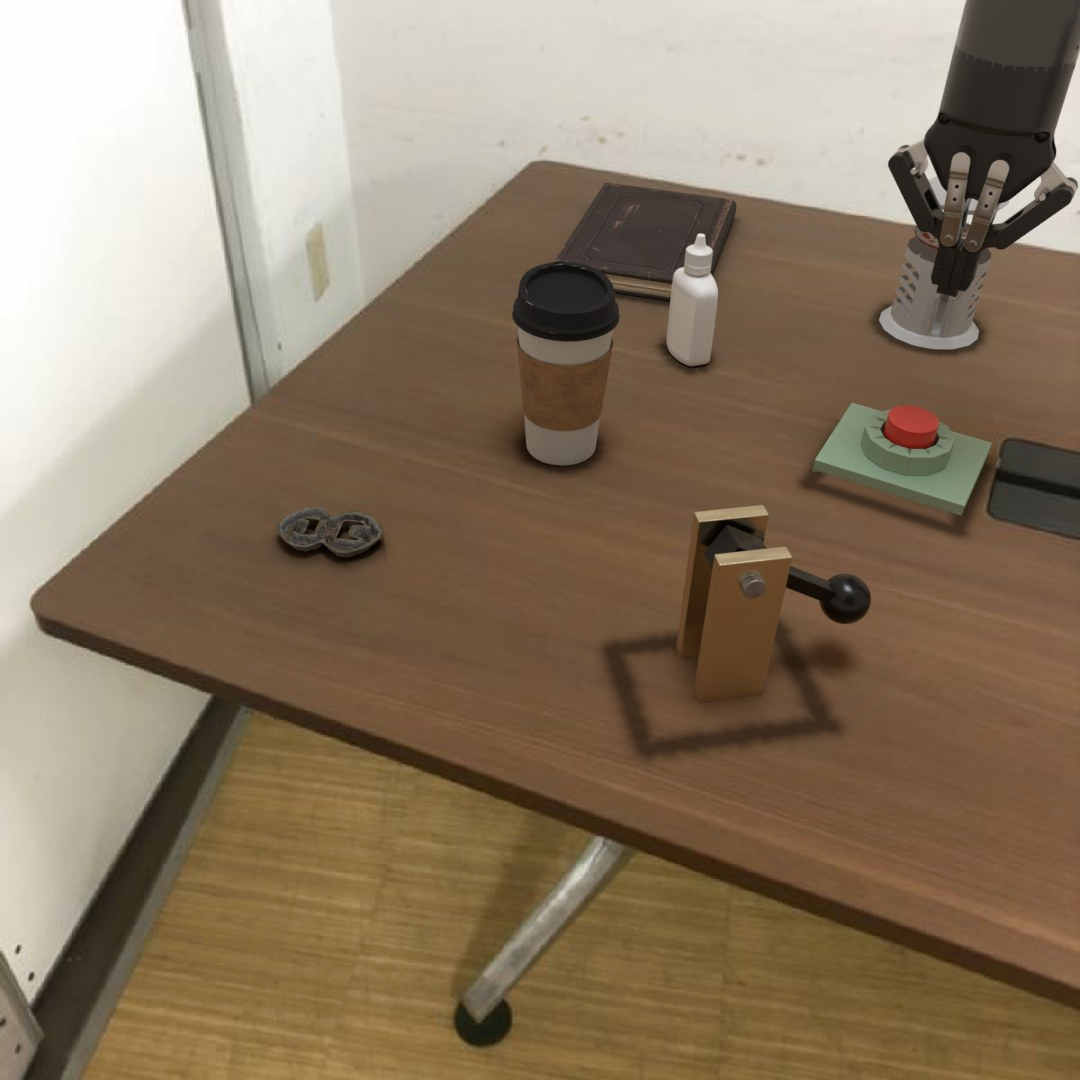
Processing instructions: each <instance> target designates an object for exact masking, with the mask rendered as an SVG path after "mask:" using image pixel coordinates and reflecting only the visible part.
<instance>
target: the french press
mask: <svg viewBox="0 0 1080 1080" xmlns="http://www.w3.org/2000/svg"><path fill="white" fill-rule="evenodd" d="M928 181H929V183H930V185H931V187H932V189H933V191H934V193H935V196H936V198H937V200H938V202H939V204H940V206H941V208H942V211H944V205H945V200H946V194H947V192H946V191H945V190H944V189H943V187H942V186H941V184H940V182H939V179H938V177H937V175H936V176H935V177H932V178H930V179H928ZM977 203H978V201H977V200H975V199H972V200H971V203H970V206H969V211H968V216H973V214H974V212H975V209H976V206H977ZM1009 204H1010V200H1009V201H1007V202H1004V203H1001V204H1000V207H999V209H998V211H1000V210H1002V209H1003V208H1005V207H1006V206H1008V205H1009ZM970 225H971V223H969V222H966V227H965V230H964V232H963V235H962V238H964V239H965V238H966V236H967V233H968V230H969V227H970ZM913 233H914V235H915V236H913V237H911V238H910V239H909V240H908V243H907V245H906V249H905V252H904V258H905V259H906V260H907V261H908V262H907V263H902V264H901V265H902V266H901V269H900V270H901V271H902V272H903V273H904V274H902V275H899V276H898V283H899V284H900V285H901V286H897V287H896V290H895V295H896V296H897V298H893V301H892V305H890V306H889V307H887V308H885V309H884V310H882V311H881V312H880V316H879V319H878V321H879V323H880V325H881V327H882V329H883V330H884V331H885V332H886V333H888V334H889V335H891V336H892V337H893V338H895V339H897V340H899V341H901V342H904V343H906V344H909V345H911V346H914V347H919V348H923V349H930V350H956V349H961V348H965V347H969V346H970V345H972V344H973V343H975V342H976V341H977V340H978V338H979V333H980V329H979V327H978V326H977V325H976V323H975V322H974V321H973V319H974V316H975V313H976V310H977V308H976V307H977V305H978V303H979V299H980V294H981V292H982V289H983V283H984V282H985V279H986V275H987V270H988V268H989V266H990V263H991V259H992V251H991V250H989V248H986V249H984V250H982V253H981V257H980V260H979V264H978V267H977V271H976V274H975V278H974V280H973V282H972V283H971V285H970V286H969V288H968V289H967V290H966V291H960V292H959V294H958V295H957V297H952V296H948V295H947V294H946V295H943V294H939V293H936V291H937V287H938V285H935V284H932V281H931V274H932V270H933V266H934V263H935V259H936V255H937V251H938V247H939V242H938V239H937V238H936V237H935V236H934V235H932V234H930V233H929V232H922V231H920V230H919V229H918V227H917V225H915V228H914V232H913ZM964 241H965V240H964ZM919 255H920V256H919ZM912 268H913V269H914V270H915V271H913V272H911V270H910V269H912ZM980 278H981V280H980V281H979V282H977V281H978V280H979V279H980ZM909 280H910V282H911V283H908V282H907V281H909ZM977 290H978V291H977ZM976 291H977V293H976V294H975V292H976ZM904 292H906V293H907V294H904ZM973 303H974V304H973ZM972 304H973V305H972Z"/></svg>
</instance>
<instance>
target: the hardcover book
mask: <svg viewBox="0 0 1080 1080" xmlns="http://www.w3.org/2000/svg"><path fill="white" fill-rule="evenodd" d="M736 213H737V202H736V201H735V200H734V199H732V198H724V197H717V196H710V195H701V194H696V193H695V194H694V193H687V192H679V191H672V190H663V189H658V188H657V189H656V188H649V187H641V186H635V185H628V184H627V185H626V184H621V183H620V184H619V183H612V182H604V183H603V185H602V186H601V188H600V190H599V191H598V192H597V194H596V196H595V197H594V199H593V200H592V201H591V203H590V205H589V206H588V208H587V209H586V211H585V213H584V214H583V215H582V217H581V219H580V220H579V222H578V223H577V225H576V226H575V228H574V229H573V231H572V232H571V234H570V235H569V237H568V238H567V239H566V242H565V243H564V245H563V246H562V247H561V249H560V251H559V252H558V254H557V255H556V256H555V258H554V260H553V262H557V261H563V262H574V263H581V264H585V265H588V266H591V267H594V268H596V269H597V270H599V271H601V272H602V273H603V274H605V275H606V276H607V277H608V279H609V280H610V281H611V283H612V284H613V287H614V291H615V294H621V295H627V296H634V297H640V298H641V297H642V298H648V299H654V300H660V301H666V302H670V299H671V289H672V281H673V275H674V273H675V271H676V270H677V269H679V268H682V267H684V263H685V254H686V248H687V247H688V246H690V245H694V243H695V241H696V237H697V235H698V234H704V235H705V240H706V246H709V247H710V248H711V249H712V250H713V255H712V263H711V271H710V273H711V275H712V276H713V272H714V270H715V267H716V264H717V261H718V259H719V256H720V254H721V252H722V249H723V247H724V244H725V242H726V239H727V237H728V234H729V231H730V229H731V227H732V224H733V221H734V218H735V216H736Z"/></svg>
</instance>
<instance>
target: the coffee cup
mask: <svg viewBox="0 0 1080 1080" xmlns="http://www.w3.org/2000/svg"><path fill="white" fill-rule="evenodd" d="M518 284H519V285H518V291H517V296H516V298H515V300H514V302H513V306H512V312H511V315H512V316H511V317H512V321H513V322H514V324H515V325H516V326H517V332H518V333H517V336H516V339H515V341H516V350H517V361H518V371H519V380H520V390H521V391H520V392H521V401H522V407H523V408H522V410H523V417H524V418H523V419H524V432H525V443H526V445H525V446H526V449H527V451H528V453H529V454H530V455H531V456H532V457H533V458H534V459H536V460H537V461H539V462H541V463H543V464H547V465H552V466H560V467H561V466H573V465H577V464H581V463H582V462H585V461H587V460H588V459H590V458H591V457H592V456H593V455H594V453H595V451H596V447H597V440H598V434H599V428H600V421H601V416H602V411H603V407H604V406H603V405H604V400H605V394H606V388H607V382H608V377H609V371H610V366H611V365H610V364H611V359H612V353H613V349H614V348H613V347H614V338H613V331H614V330H615V328H616V327H617V326H618V324H619V322H620V319H621V318H620V317H621V316H620V308H619V304H618V302H617V300H616V293H615V291H614V287H613V284H612V283H611V281H610V280H609V279H608V277H607V276H606V275H605V274H603V273H602V272H601V271H599V270H597V269H596V268H594V267H591V266H588V265H585V264H581V263H574V262H563V261H557V262H554V261H551V262H545V263H541V264H539V265H536V266H534V267H532V268H530V269H528V270H527V271H526V272H524V274H523V275H522V277H521V279H520V280H519V283H518Z"/></svg>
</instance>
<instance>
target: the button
mask: <svg viewBox="0 0 1080 1080" xmlns="http://www.w3.org/2000/svg"><path fill="white" fill-rule="evenodd" d="M889 410H890V412H889V413H888V417H887V421H886V424H885V428H884V436H885V438H886V439H887V440H889V441H890V442H892V443H893V444H895V445H898V446H902V447H905V448H908V449H927V448H929V447H931V446H932V445H933V443H934V441H935V437H936V434H937V430H938V427H939V421H940V420H939V418H938V417H937V416H936V414H935V413H933V412H932V411H930V410H928V409H926V408H923V407H921V406H917V405H898V406H894V407H893V408H891V409H889Z"/></svg>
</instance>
